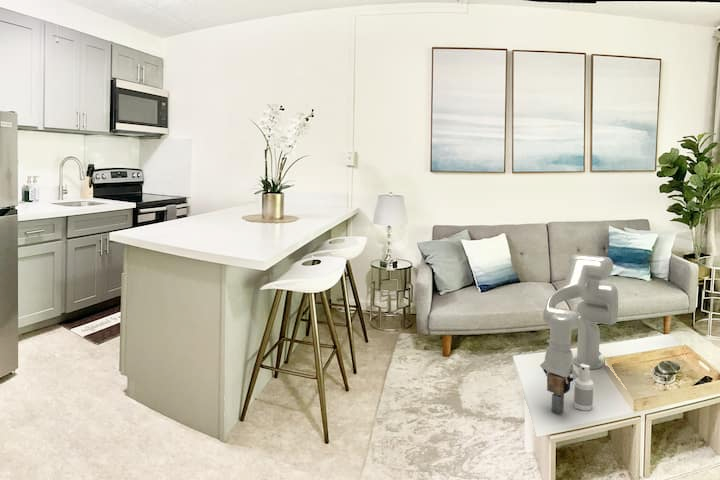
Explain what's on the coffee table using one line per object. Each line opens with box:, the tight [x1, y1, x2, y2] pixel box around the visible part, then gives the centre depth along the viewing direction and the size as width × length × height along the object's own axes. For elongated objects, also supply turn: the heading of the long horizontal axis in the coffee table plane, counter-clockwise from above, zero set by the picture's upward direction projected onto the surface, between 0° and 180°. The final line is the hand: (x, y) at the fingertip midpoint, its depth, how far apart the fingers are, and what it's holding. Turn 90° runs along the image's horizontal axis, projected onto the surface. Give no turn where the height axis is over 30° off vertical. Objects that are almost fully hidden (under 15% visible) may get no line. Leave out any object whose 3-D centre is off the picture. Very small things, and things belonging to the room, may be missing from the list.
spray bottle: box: [573, 364, 594, 412], centre depth 191 cm, size 7×7×18 cm
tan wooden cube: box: [546, 373, 569, 396], centre depth 187 cm, size 6×6×7 cm
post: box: [551, 393, 565, 415], centre depth 189 cm, size 3×3×8 cm
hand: (558, 388), depth 188 cm, fingers closed on tan wooden cube, 5 cm apart
